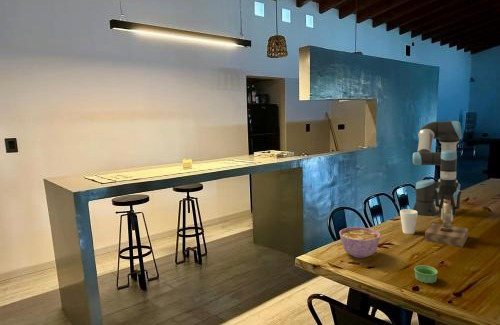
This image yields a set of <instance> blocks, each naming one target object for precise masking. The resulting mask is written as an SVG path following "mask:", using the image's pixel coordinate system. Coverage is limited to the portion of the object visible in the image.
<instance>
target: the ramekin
mask: <svg viewBox="0 0 500 325" xmlns="http://www.w3.org/2000/svg"><path fill="white" fill-rule="evenodd" d="M438 273H439V272H438V270H437V269H436V268H435V267H433V266H430V265H424V264H423V265H416V266H415V267H414V277H415V279H416V281H418V280H419V282H420V281H421V282H420V283H423V282H424V283H423V284H428V283H431V284H435V283H436V282H437V277H438ZM434 282H435V283H434Z"/></svg>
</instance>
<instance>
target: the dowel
mask: <svg viewBox="0 0 500 325" xmlns="http://www.w3.org/2000/svg"><path fill="white" fill-rule="evenodd" d="M442 207H443V220H442V225H443V227H445V228H451V226H452V221H451V209H452V204H451V199H450V198H444V200H443V206H442Z"/></svg>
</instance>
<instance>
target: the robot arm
mask: <svg viewBox="0 0 500 325" xmlns="http://www.w3.org/2000/svg"><path fill="white" fill-rule="evenodd" d="M462 133H463V132H462V127H461V122H460V121H458V120H444V121H443V120H442V121H431V122H428V123H426V124H424V125H423V126H422V127H421V128H420V129H419V131H418V133H417V137H418V144H417V146H418V147H417V152H413V153H412V164H413V165H414V166H415V165H418V166H440V173H439V174H440V178H439V179H438V180H437V182H435V180H434V179H423V180H419V181H417V182H416V183H415V202H414V205H413V207H412V210H415V211H417V212H418V215H419V216H430V217H431V216H436V215H437V214H440V220H441V221H443V200H444V198H450V199H451V204H452V209H451V222H453V220H454V216H456V213H457V212H456V211H457V210H458V209H460V207H461V195H462V193H463V190H460V189H461V184H460V183H459V181H458V179H457V162H458V161H457V160H458V155H457V154H458V153H457V144H458V143H459V142H460V140H461V139H463V134H462ZM433 140H438V142H439V143H440V144H441V145H440V146H441V147H440V148H441V150H440V152H438V151H437V152H432V150H433V149H432V146H433ZM455 201H456V202H455ZM437 208H438V210H437ZM437 211H438V213H437Z"/></svg>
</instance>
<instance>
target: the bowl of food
mask: <svg viewBox="0 0 500 325" xmlns="http://www.w3.org/2000/svg"><path fill="white" fill-rule="evenodd" d="M339 236H340V240H341V244H342V247H343V250H345V252H346V253H347V254H348V255H350V256H352V257H354V258H357V257H358V259H365V258H368V257H369V256H372V255H375V253H376V252H377V248H378V246H379V242H380V238H381V233H380V232H379V231H377V230H376V229H372V228H370V227H369V228H368V227H362V226H352V227H351V226H350V227H346V228H343V229H341V230H339Z"/></svg>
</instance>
